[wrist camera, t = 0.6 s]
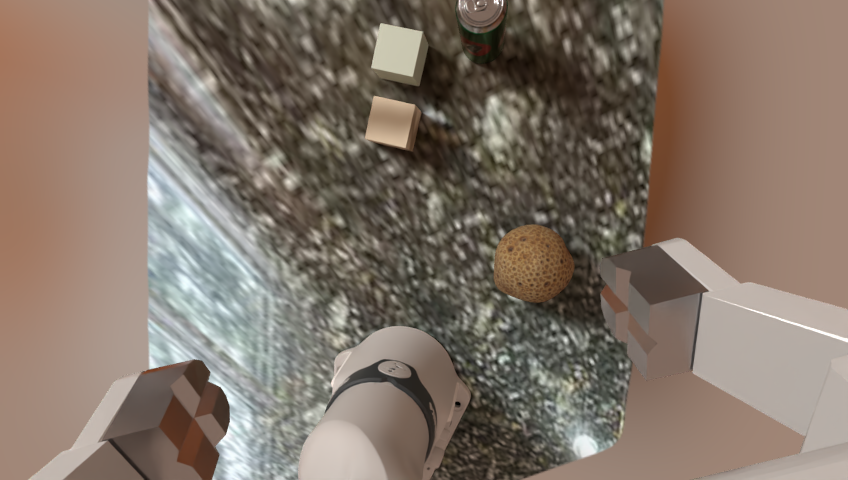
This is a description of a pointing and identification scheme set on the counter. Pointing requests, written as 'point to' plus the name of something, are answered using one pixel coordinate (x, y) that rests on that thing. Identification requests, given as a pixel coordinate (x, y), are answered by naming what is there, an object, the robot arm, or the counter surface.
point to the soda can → (482, 28)
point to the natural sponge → (532, 264)
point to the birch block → (393, 123)
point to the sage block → (400, 54)
